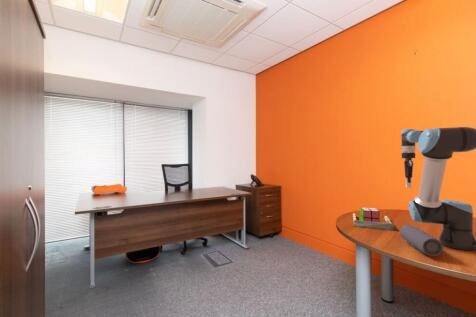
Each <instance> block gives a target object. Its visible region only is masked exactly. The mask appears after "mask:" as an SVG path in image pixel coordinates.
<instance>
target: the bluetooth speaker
mask: <svg viewBox="0 0 476 317" xmlns="http://www.w3.org/2000/svg"><path fill="white" fill-rule="evenodd" d="M399 236H400V237H401V238H402V239H403V240H405V242H407V243H408V244H410V245H411V247H412V248H413V249H415V250H416V251H417V252H419V253H420V254H425V255H428V256H430V257H437V256H440V255H441V254H442V253H443V250H444V245H443V244H441V242H440V241H439V239H437V238H436V237H434V236H432V235H431V234H429V233H427V232H426V231H424V230H422V229H420V228H419V227H416V226H414V225H410V224H403V225H402V226H401V227H400V228H399Z"/></svg>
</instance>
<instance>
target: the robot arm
mask: <svg viewBox="0 0 476 317" xmlns="http://www.w3.org/2000/svg"><path fill="white" fill-rule="evenodd" d="M400 137H401V139H400V140H401V147H400V149H401V159H405V160H404V162H403V165H404V176H405V188H408V189H409V188H410V189H411V188H412V178H413V171H414V168H413V167H414V161H413V159H416V144H417V149H418V151H419V152H420V153H421V156H423V157H424V161H423V166H422V171H421V178H420V184H419V187H418V188H419V190H418V193H417V195H415V196H414V198H413V200H409V202H408V210H409V215H410V217H411V219H412V221H413V222H416V223H420V224H435V225H442V229H441V232H440V234H439V237H438V240H439V241H440V242H441V244H442V246H445V247H448V248H452V249H458V250H463V251H476V237H475V234H474V212H473V211H474V209H473V206H472V205H471V204H470V203H467V202H463V201H459V200H452V199H442V201H441V199H440V196H441V191H442V185H443V180H444V176H445V171H446V167H447V162H448V160H450V159H452V158H453V154H454V153H465V152H471V151H473V150H474V151H475V150H476V128H475V127H469V126H459V127H458V126H457V127H456V126H455V127H439V128H438V127H434V128H427V129H424V130H418V129H415V128H408V129H406V128H405V129H402V130H401V132H400Z"/></svg>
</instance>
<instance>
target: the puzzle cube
mask: <svg viewBox="0 0 476 317" xmlns="http://www.w3.org/2000/svg"><path fill="white" fill-rule="evenodd" d="M380 217H381V216H380V210H378V209H377V208H374V207H360V221H370V222H381V221H380Z"/></svg>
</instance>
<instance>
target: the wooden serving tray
mask: <svg viewBox="0 0 476 317" xmlns="http://www.w3.org/2000/svg"><path fill="white" fill-rule="evenodd" d="M352 219H353V227H355V226H356V227H357V228H364V227H365V228H366V229H376V230H377V229H378V230H385V231H386V230H387V231H395V223H392V221H391V220H390V218H389V217H388V216H387V215H384V217H383V219H384V220H385V222H381V221H380V222H370V221H361V220H360V219H359V220H358V219H357V216H356V213H355V212H352ZM356 227H355V228H356Z"/></svg>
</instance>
